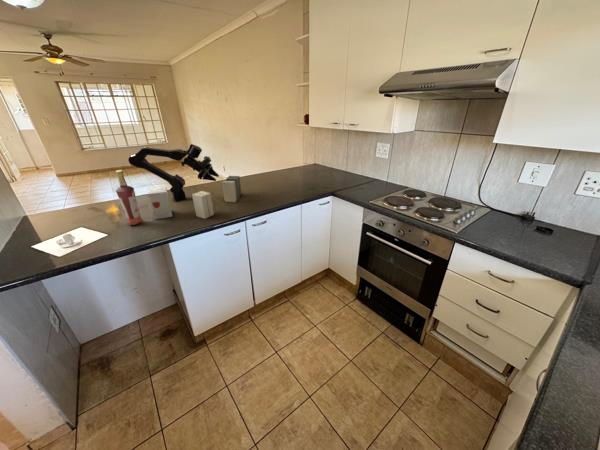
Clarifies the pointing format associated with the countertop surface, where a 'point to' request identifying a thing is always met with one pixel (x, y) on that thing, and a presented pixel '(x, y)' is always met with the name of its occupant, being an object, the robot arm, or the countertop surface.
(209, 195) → the white book
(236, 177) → the grey book
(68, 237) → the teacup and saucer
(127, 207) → the liquor
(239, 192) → the grey book
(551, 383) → the countertop surface
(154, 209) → the white product box
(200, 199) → the white book
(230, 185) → the white book
